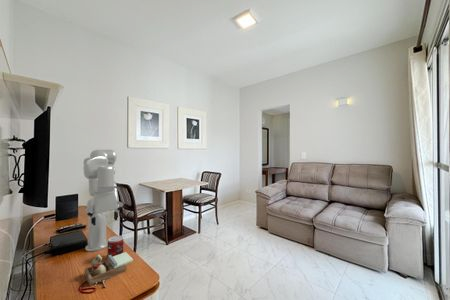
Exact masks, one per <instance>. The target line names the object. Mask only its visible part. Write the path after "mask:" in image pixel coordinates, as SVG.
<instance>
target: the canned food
mask: <svg viewBox="0 0 450 300" xmlns="http://www.w3.org/2000/svg"><path fill="white" fill-rule="evenodd" d="M107 241H108V246H107V256H108V255H111V256H112V257H113V256H116V255H119V254H122V253H124V236H123V235H114V236H111V237H109V238H108V239H107Z"/></svg>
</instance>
